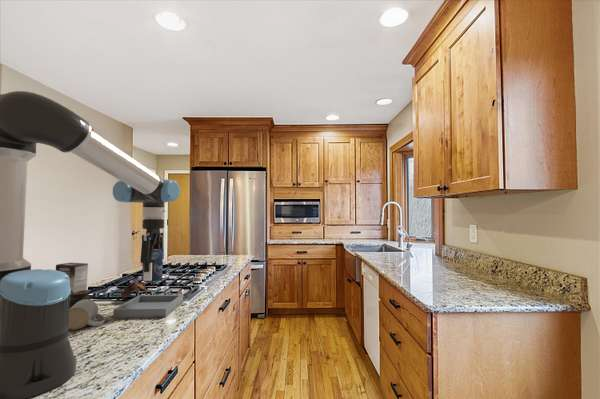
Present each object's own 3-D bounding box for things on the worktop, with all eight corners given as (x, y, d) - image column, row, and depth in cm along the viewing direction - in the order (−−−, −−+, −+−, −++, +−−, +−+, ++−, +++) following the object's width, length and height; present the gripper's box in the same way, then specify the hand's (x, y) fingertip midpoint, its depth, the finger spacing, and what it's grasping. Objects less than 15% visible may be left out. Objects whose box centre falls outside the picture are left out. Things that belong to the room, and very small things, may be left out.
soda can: (159, 282, 110) (159, 250, 110) (139, 283, 108) (140, 250, 109) (164, 278, 116) (165, 248, 117) (145, 279, 115) (146, 248, 116)
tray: (165, 317, 103) (165, 308, 103) (113, 318, 102) (113, 309, 102) (183, 301, 121) (183, 294, 121) (138, 302, 120) (138, 295, 120)
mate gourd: (91, 314, 106) (92, 287, 106) (64, 319, 101) (65, 290, 102) (92, 309, 112) (92, 283, 112) (66, 313, 107) (67, 286, 108)
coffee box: (53, 305, 116) (54, 264, 117) (68, 300, 123) (69, 262, 123) (72, 306, 115) (74, 265, 116) (87, 301, 121) (88, 262, 122)
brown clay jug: (145, 302, 122) (134, 287, 120) (124, 313, 121) (113, 297, 119) (155, 288, 133) (145, 273, 131) (136, 297, 133) (126, 283, 131)
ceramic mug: (60, 332, 90) (61, 307, 90) (71, 323, 98) (73, 299, 98) (100, 329, 93) (101, 304, 94) (108, 320, 101) (109, 297, 101)
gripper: (151, 219, 104) (150, 284, 103) (173, 218, 124) (172, 272, 123) (130, 219, 103) (128, 284, 102) (154, 218, 123) (153, 273, 122)
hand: (152, 278), depth 112 cm, fingers closed on soda can, 7 cm apart
